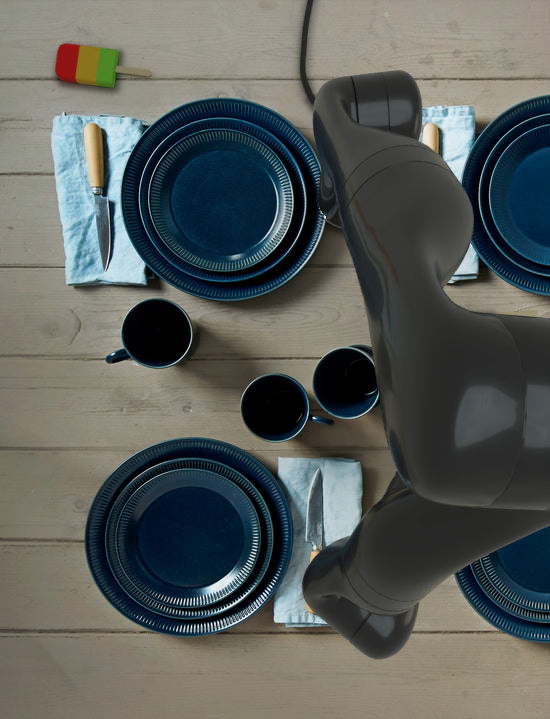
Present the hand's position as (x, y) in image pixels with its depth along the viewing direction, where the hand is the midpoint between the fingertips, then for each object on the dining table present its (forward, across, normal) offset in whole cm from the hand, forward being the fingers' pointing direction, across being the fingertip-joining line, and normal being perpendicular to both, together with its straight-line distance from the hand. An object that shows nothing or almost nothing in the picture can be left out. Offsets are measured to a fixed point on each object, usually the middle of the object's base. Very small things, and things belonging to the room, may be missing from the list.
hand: (475, 414), depth 74 cm
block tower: (+15, +6, +4) cm, 17 cm away
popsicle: (+4, +75, +15) cm, 77 cm away
